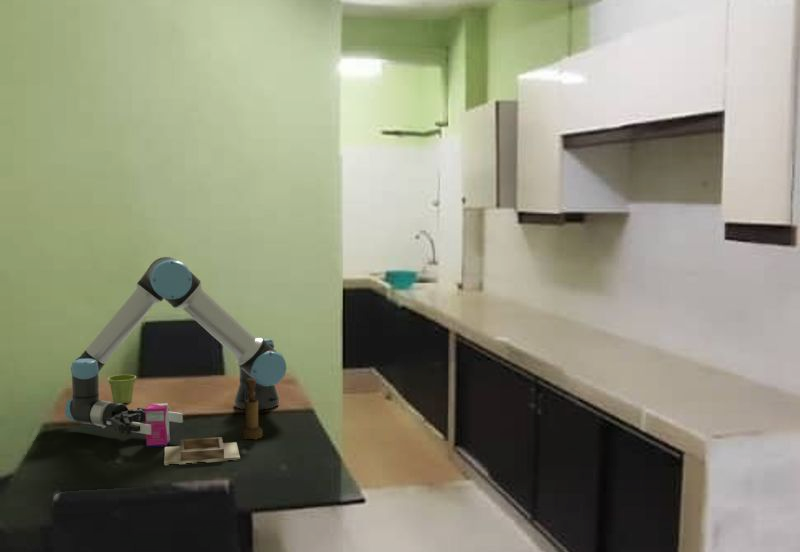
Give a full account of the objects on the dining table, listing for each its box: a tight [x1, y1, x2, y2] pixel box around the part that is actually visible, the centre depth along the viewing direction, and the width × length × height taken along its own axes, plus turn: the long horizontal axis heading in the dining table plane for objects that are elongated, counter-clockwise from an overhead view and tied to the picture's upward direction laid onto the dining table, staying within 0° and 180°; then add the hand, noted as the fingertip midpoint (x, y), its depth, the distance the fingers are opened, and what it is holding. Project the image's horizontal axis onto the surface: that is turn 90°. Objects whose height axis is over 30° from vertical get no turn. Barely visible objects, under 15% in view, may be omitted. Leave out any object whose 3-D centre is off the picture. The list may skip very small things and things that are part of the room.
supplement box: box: [144, 402, 171, 448], centre depth 239 cm, size 6×6×12 cm
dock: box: [163, 436, 241, 466], centre depth 230 cm, size 20×14×3 cm
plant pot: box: [107, 374, 137, 404], centre depth 286 cm, size 9×9×9 cm
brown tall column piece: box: [240, 378, 264, 440], centre depth 246 cm, size 7×6×18 cm
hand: (166, 423), depth 237 cm, fingers open, 13 cm apart
